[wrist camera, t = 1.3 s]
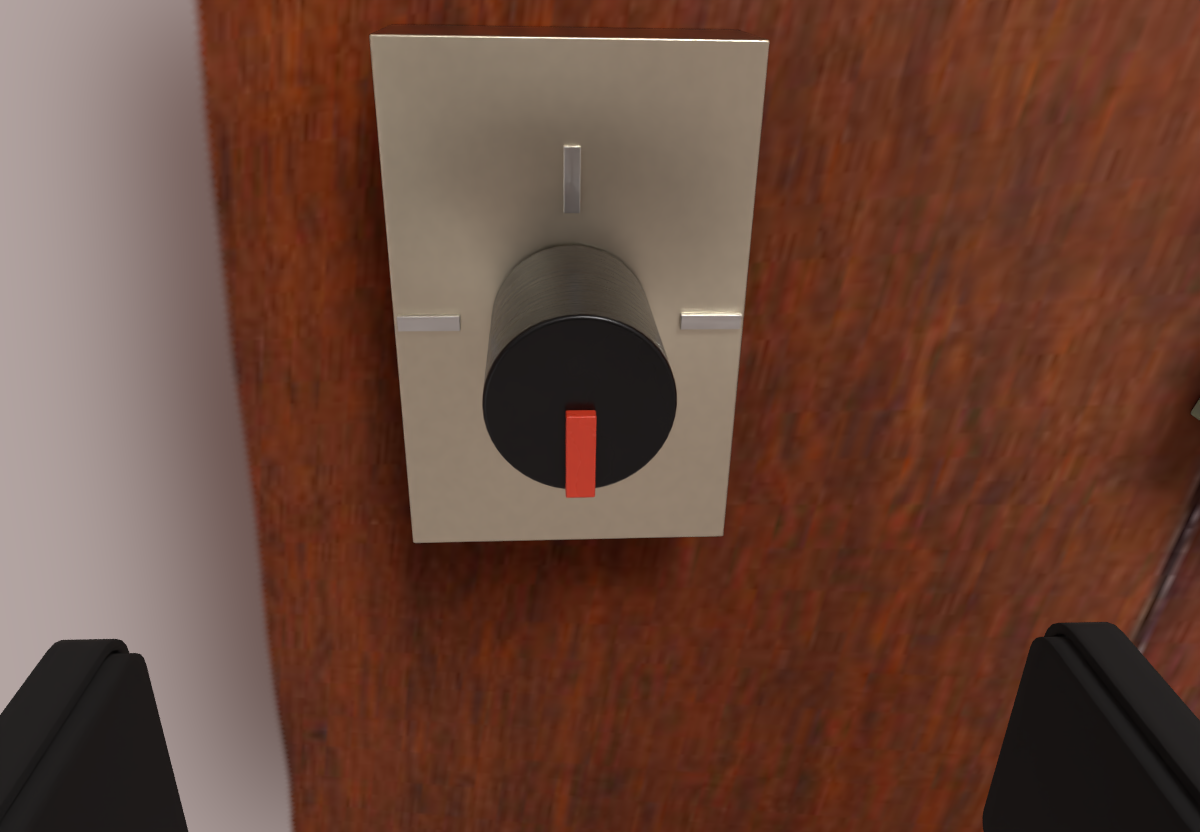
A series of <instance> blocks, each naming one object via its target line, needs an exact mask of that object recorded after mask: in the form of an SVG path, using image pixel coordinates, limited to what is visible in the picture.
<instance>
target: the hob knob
mask: <svg viewBox="0 0 1200 832" xmlns="http://www.w3.org/2000/svg"><path fill="white" fill-rule="evenodd" d="M482 409H483V418H484V422H485V425H486V429H487V432H488V434H489V436H490V439H491V441H492V442H493V444H494V446H495V447H496V449H497V450H498V452H499V453H500V454H501V455H502V456H503V458H504V459H505V460H506V461H507V462H508V463H509V464H510V465H511V466H513V467H514V468H515V469H516V470H518V471H519V472H521V473H522V474H523V475H525V476H527V477H529V478H531V479H532V480H534V481H537V482H539V483H542V484H544V485H548V486H552V487H555V488H562V489H565V494H566V498H586V497H595V488H600V487H604V486H608V485H611V484H614V483H617V482H619V481H621V480H623V479H626V478H627V477H629V476H631V475H633V474H634V473H636V472H637V471H639V470H640V469H641V468H643V467H644V466H645V465H646V464H647V463H648V462H649V461H650V460H651V459H652V458H654V456H655V455H656V454H657V453H658V451H659V450H660V449H661V448H662V446H663V444H664V443H665V441H666V439H667V438H668V436H669V433H670V431H671V429H672V426H673V423H674V419H675V416H676V409H677V390H676V384H675V379H674V376H673V373H672V370H671V367H670V364H669V361H668V358H667V355H666V352H665V349H664V346H663V343H662V340H661V337H660V335H659V332H658V329H657V326H656V323H655V320H654V317H653V314H652V311H651V308H650V305H649V302H648V299H647V297H646V294H645V291H644V289H643V287H642V285H641V283H640V282H639V280H638V279H637V277H636V276H635V275H634V274H633V272H632V271H631V270H630V269H629V268H628V267H627V266H626V265H625V264H623V263H622V262H621V261H619V260H618V259H616V258H615V257H613V256H612V255H610V254H608V253H606V252H603V251H601V250H598V249H595V248H591V247H586V246H576V245H567V246H558V247H553V248H549V249H546V250H543V251H540V252H538V253H536V254H534V255H532V256H530V257H528V258H527V259H525V260H524V261H522V262H521V263H520V264H519V265H517V266H516V267H515V268H514V269H513V270H512V271H511V272H510V273H509V275H508V276H507V277H506V278H505V280H504V281H503V283H502V284H501V286H500V288H499V290H498V292H497V295H496V298H495V301H494V304H493V310H492V317H491V325H490V334H489V343H488V352H487V360H486V369H485V378H484V387H483V397H482Z"/></svg>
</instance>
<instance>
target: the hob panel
mask: <svg viewBox="0 0 1200 832" xmlns="http://www.w3.org/2000/svg"><path fill="white" fill-rule="evenodd" d="M369 40H370V52H371V63H372V75H373V86H374V98H375V109H376V121H377V132H378V144H379V155H380V167H381V179H382V190H383V202H384V213H385V225H386V236H387V248H388V259H389V271H390V283H391V294H392V306H393V317H394V329H395V340H396V352H397V363H398V375H399V386H400V398H401V410H402V421H403V433H404V444H405V456H406V467H407V479H408V490H409V502H410V514H411V525H412V537H413V542H414V543H438V542H483V541H528V540H573V539H618V538H664V537H709V536H723V534H724V524H725V513H726V502H727V492H728V481H729V470H730V460H731V449H732V438H733V427H734V417H735V406H736V395H737V385H738V374H739V363H740V353H741V342H742V331H743V321H744V310H745V299H746V289H747V278H748V267H749V256H750V246H751V235H752V224H753V214H754V203H755V192H756V182H757V171H758V160H759V150H760V139H761V128H762V118H763V107H764V96H765V86H766V75H767V64H768V53H769V43H770V42H769V40H767V39H764V38H761V37H758V36H755V35H752V34H749V33H746V32H743V31H740V30H716V29H653V28H590V27H527V26H463V25H400V24H392V25H389V26H387V27H385V28H383V29H380V30H378V31H376V32H374V33H371V34H370V35H369ZM567 245H576V246H586V247H591V248H595V249H598V250H601V251H603V252H606V253H608V254H610V255H612V256H613V257H615V258H616V259H618V260H619V261H621V262H622V263H623V264H625V265H626V266H627V267H628V268H629V269H630V270H631V271H632V272H633V274H634V275H635V276H636V277H637V279H638V280H639V282H640V283H641V285H642V287H643V289H644V291H645V294H646V297H647V299H648V302H649V305H650V308H651V311H652V314H653V317H654V320H655V323H656V326H657V329H658V332H659V335H660V337H661V340H662V343H663V346H664V349H665V352H666V355H667V358H668V361H669V364H670V367H671V370H672V373H673V376H674V379H675V384H676V390H677V409H676V416H675V419H674V423H673V426H672V429H671V431H670V433H669V436H668V438H667V439H666V441H665V443H664V444H663V446H662V448H661V449H660V450H659V451H658V453H657V454H656V455H655V456H654V458H652V459H651V460H650V461H649V462H648V463H647V464H646V465H645V466H644V467H643V468H641V469H640V470H639V471H637V472H636V473H634V474H633V475H631V476H629V477H627V478H626V479H623V480H621V481H619V482H617V483H614V484H611V485H608V486H604V487H600V488H595V497H586V498H566V494H565V489H562V488H555V487H552V486H548V485H544V484H542V483H539V482H537V481H534V480H532V479H531V478H529V477H527V476H525V475H523V474H522V473H521V472H519V471H518V470H516V469H515V468H514V467H513V466H511V465H510V464H509V463H508V462H507V461H506V460H505V459H504V458H503V456H502V455H501V454H500V453H499V452H498V450H497V449H496V447H495V446H494V444H493V442H492V441H491V439H490V436H489V434H488V432H487V429H486V425H485V422H484V418H483V409H482V397H483V387H484V378H485V369H486V360H487V352H488V343H489V334H490V325H491V317H492V310H493V304H494V301H495V298H496V295H497V292H498V290H499V288H500V286H501V284H502V283H503V281H504V280H505V278H506V277H507V276H508V275H509V273H510V272H511V271H512V270H513V269H514V268H515V267H516V266H517V265H519V264H520V263H521V262H522V261H524V260H525V259H527V258H528V257H530V256H532V255H534V254H536V253H538V252H540V251H543V250H546V249H549V248H553V247H558V246H567Z"/></svg>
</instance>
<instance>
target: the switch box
mask: <svg viewBox="0 0 1200 832" xmlns="http://www.w3.org/2000/svg"><path fill="white" fill-rule="evenodd" d="M1191 415H1192V416H1194V417H1195V418H1197V419H1198V420H1200V399H1199V400H1198V402H1197V403H1196V405H1195V406H1194V408H1193V410H1192V411H1191Z"/></svg>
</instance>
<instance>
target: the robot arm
mask: <svg viewBox="0 0 1200 832" xmlns="http://www.w3.org/2000/svg"><path fill="white" fill-rule="evenodd" d="M983 830H984V832H1200V721H1199V719H1198V718H1197V717H1196V716H1195V715H1194V714H1193V712H1192V711H1191V710H1190V709H1189V708H1188V707H1187V706H1186V704H1185V703H1184V702H1183V701H1182V700H1181V699H1180V697H1179V696H1178V695H1177V694H1176V693H1175V692H1174V691H1173V689H1172V688H1171V687H1170V686H1169V685H1168V684H1167V683H1166V681H1165V680H1164V679H1163V678H1162V677H1161V676H1160V674H1159V673H1158V672H1157V671H1156V670H1155V669H1154V668H1153V666H1152V665H1151V664H1150V663H1149V662H1148V661H1147V659H1146V658H1145V657H1144V656H1143V655H1142V654H1141V653H1140V651H1139V650H1138V649H1137V648H1136V647H1135V646H1134V645H1133V643H1132V642H1131V641H1130V640H1129V639H1128V638H1127V636H1126V635H1125V634H1124V633H1123V632H1122V631H1121V630H1120V629H1119V628H1118V627H1117V626H1115V625H1114V624H1111V623H1108V622H1084V623H1056V624H1052V625H1051V626H1050V627H1049V628H1048V629H1047V631H1046V633H1045V636H1044V637H1039V638H1036V639H1035V640H1034V641H1033V642H1032V645H1031V647H1030V650H1029V654H1028V657H1027V661H1026V664H1025V668H1024V671H1023V675H1022V678H1021V681H1020V685H1019V688H1018V692H1017V695H1016V699H1015V702H1014V706H1013V709H1012V713H1011V716H1010V720H1009V723H1008V727H1007V730H1006V734H1005V737H1004V741H1003V744H1002V748H1001V751H1000V755H999V758H998V762H997V765H996V769H995V772H994V776H993V779H992V783H991V786H990V790H989V793H988V797H987V800H986V804H985V807H984V812H983ZM0 832H188V829H187V825H186V820H185V817H184V813H183V809H182V805H181V801H180V797H179V793H178V789H177V785H176V781H175V777H174V773H173V769H172V765H171V761H170V757H169V753H168V749H167V745H166V741H165V737H164V734H163V729H162V725H161V722H160V717H159V714H158V709H157V705H156V701H155V698H154V694H153V690H152V686H151V682H150V678H149V674H148V670H147V666H146V663H145V660H144V658H143V657H142V656H141V655H140V654H137V653H129V651H128V648H127V646H126V644H125V643H124V642H123V641H122V640H118V639H93V640H92V639H89V640H61V641H58V642H56V643H54V645H52V647H51V648H50V649H49V650H48V651H47V652H46V653H45V655H44V656H43V658H42V659H41V660H40V662H39V663H38V664H37V666H36V667H35V668H34V670H33V671H32V672H31V674H30V675H29V677H28V678H27V679H26V681H25V682H24V683H23V685H22V686H21V687H20V689H19V690H18V691H17V693H16V694H15V696H14V697H13V698H12V700H11V701H10V702H9V704H8V705H7V706H6V708H5V709H4V711H3V712H2V713H1V715H0Z"/></svg>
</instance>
